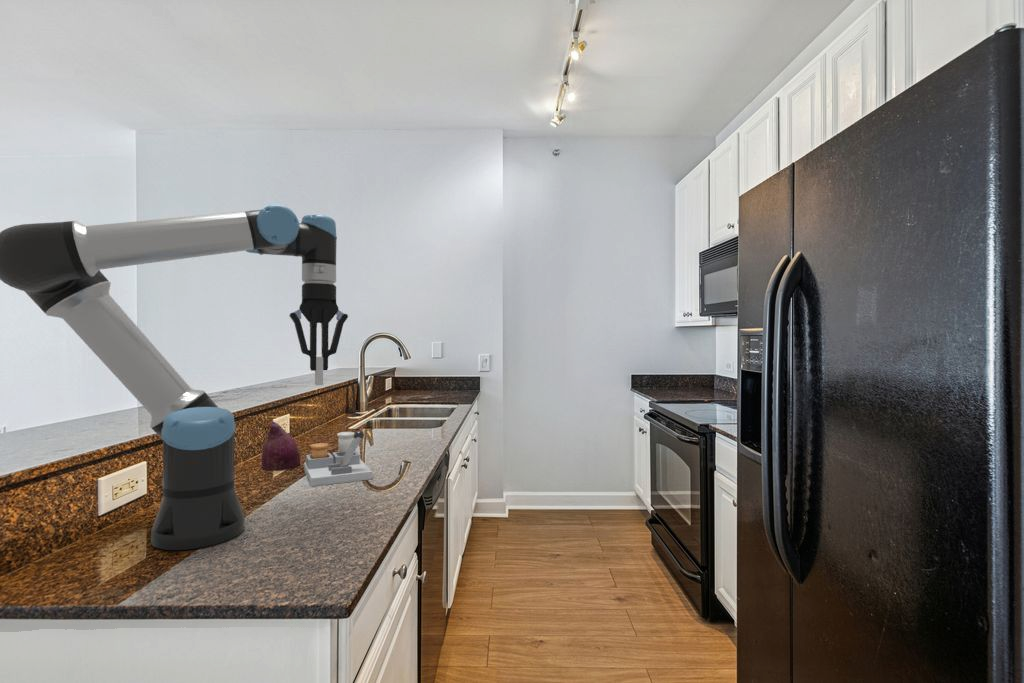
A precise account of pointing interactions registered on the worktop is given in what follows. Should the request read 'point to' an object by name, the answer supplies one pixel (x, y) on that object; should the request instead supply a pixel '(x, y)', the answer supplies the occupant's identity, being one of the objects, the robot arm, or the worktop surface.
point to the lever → (352, 448)
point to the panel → (335, 469)
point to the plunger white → (344, 441)
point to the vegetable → (279, 450)
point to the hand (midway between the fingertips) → (319, 384)
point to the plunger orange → (319, 450)
